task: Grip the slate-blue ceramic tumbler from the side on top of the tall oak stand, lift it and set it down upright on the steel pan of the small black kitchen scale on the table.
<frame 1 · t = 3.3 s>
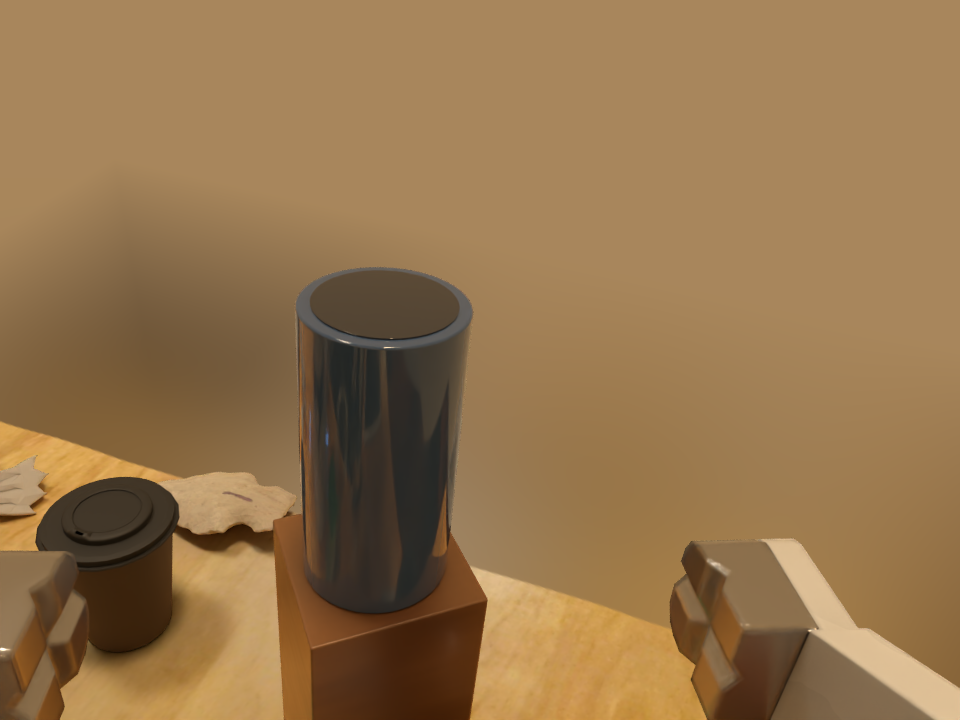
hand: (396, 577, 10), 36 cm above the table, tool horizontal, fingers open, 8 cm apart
coffee cup: (130, 620, 51), on the table
decorative stone: (213, 518, 61), on the table
tumbler: (375, 557, 27), point 24 cm above the table, touching stand
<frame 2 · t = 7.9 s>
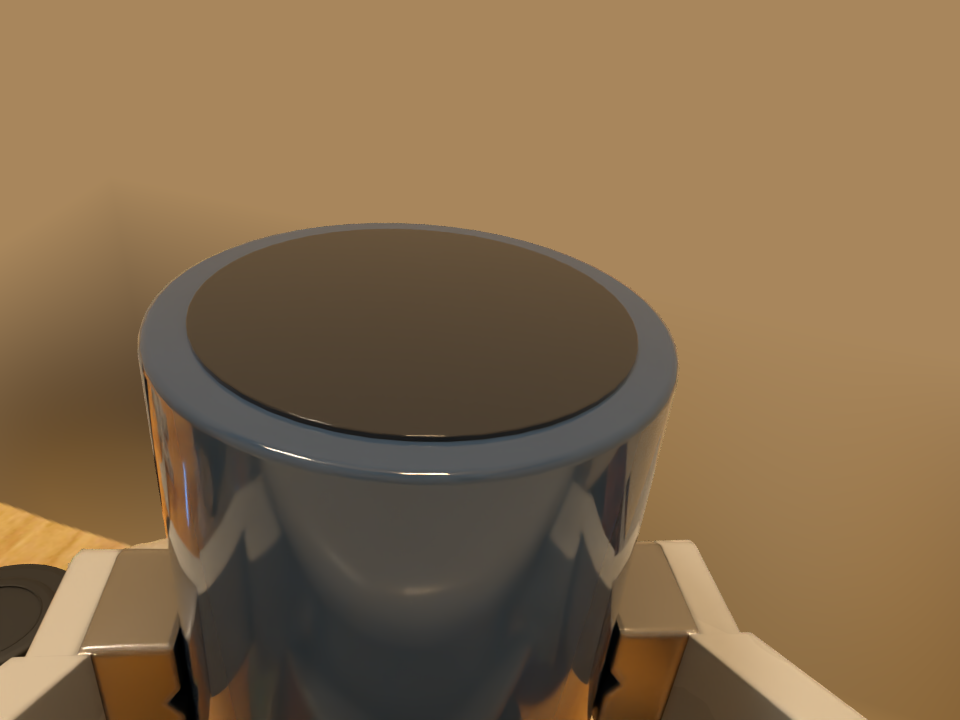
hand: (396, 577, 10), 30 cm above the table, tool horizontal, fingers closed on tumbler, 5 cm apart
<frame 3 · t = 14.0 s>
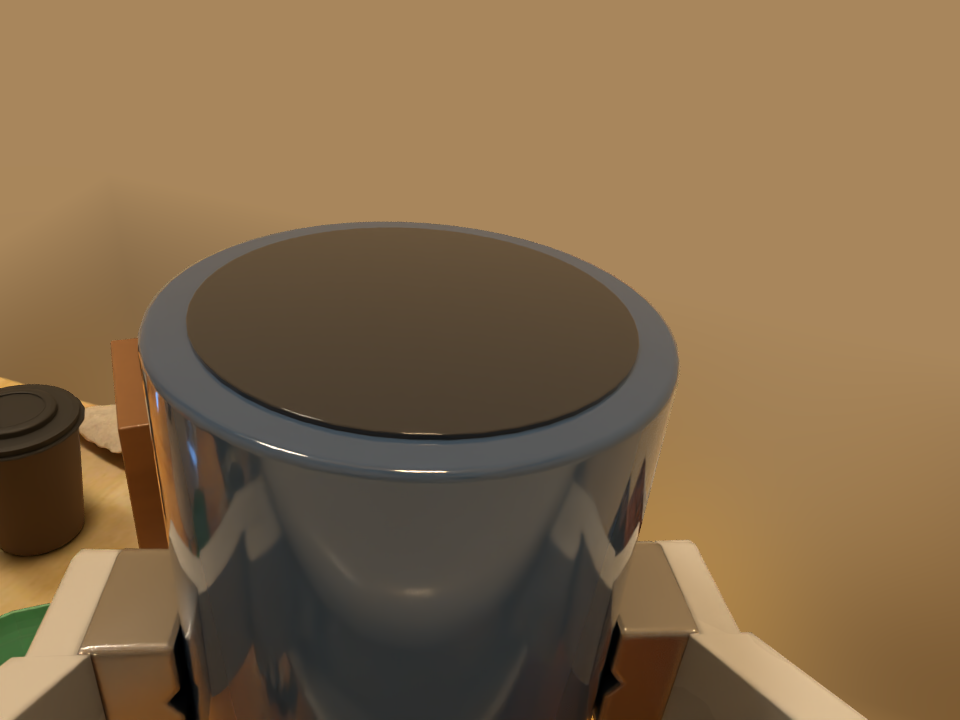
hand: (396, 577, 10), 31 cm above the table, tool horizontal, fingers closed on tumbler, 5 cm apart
coffee cup: (42, 529, 52), on the table
decorative stone: (136, 443, 61), on the table
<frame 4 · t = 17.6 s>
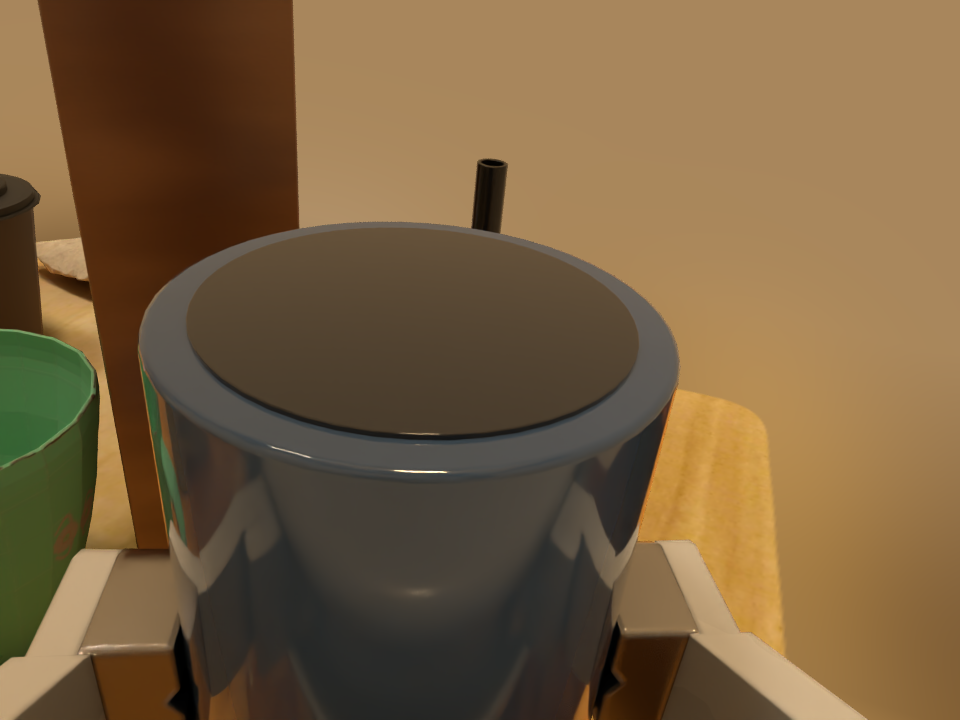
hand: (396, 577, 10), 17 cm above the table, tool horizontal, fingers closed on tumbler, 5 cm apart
decorative stone: (108, 281, 54), on the table
stand: (223, 561, 32), on the table
when the fingers open (8 cm above the table, at t = 20.4 s): tumbler stays where it is, resting on scale.
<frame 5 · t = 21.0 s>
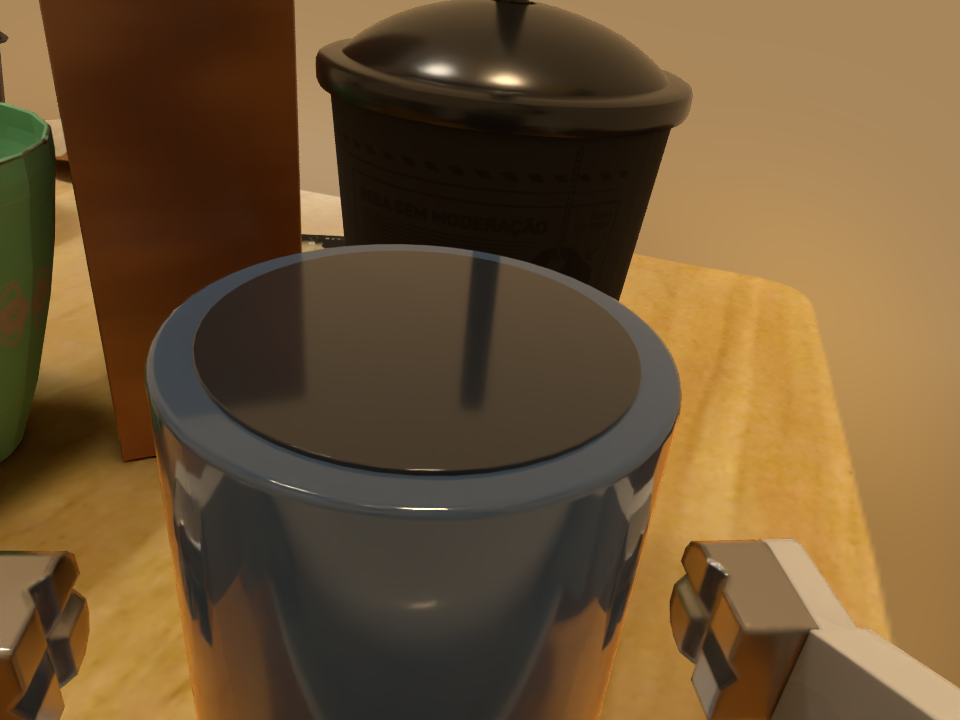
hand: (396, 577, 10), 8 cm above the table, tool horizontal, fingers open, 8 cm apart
decorative stone: (89, 168, 50), on the table
drinking cup: (456, 558, 22), on the table
smartphone: (294, 308, 36), on the table
stand: (207, 398, 28), on the table
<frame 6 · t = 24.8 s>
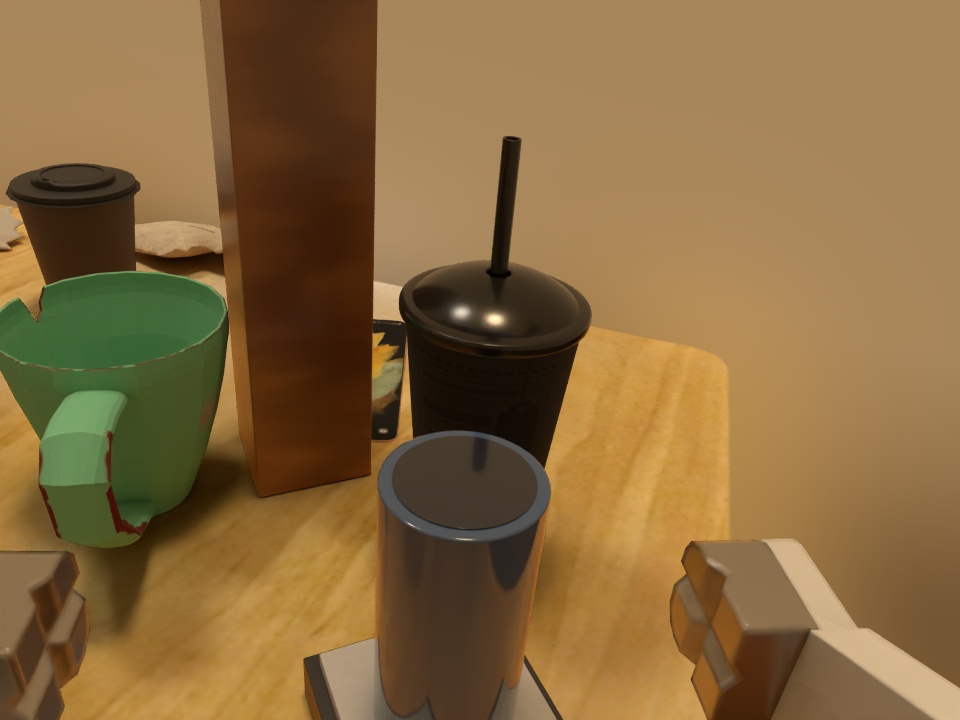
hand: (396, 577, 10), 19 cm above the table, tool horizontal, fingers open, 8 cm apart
coffee cup: (97, 308, 55), on the table
decorative stone: (179, 258, 65), on the table
mug: (137, 523, 37), on the table
drinking cup: (469, 557, 37), on the table
tumbler: (444, 702, 27), point 3 cm above the table, touching scale
smartphone: (349, 381, 51), on the table
stand: (303, 453, 42), on the table
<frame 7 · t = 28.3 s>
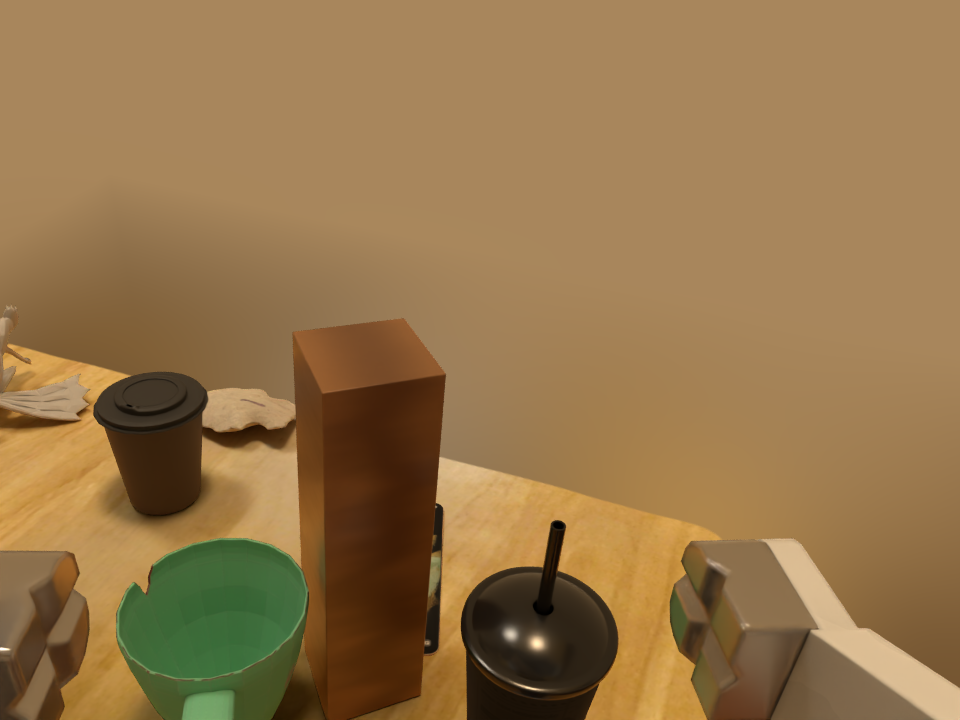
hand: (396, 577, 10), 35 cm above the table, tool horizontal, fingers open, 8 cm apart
coffee cup: (166, 494, 62), on the table
decorative stone: (231, 424, 71), on the table
smartphone: (394, 575, 57), on the table
stand: (361, 671, 49), on the table
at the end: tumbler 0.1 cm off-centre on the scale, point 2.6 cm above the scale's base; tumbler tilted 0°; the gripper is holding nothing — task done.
